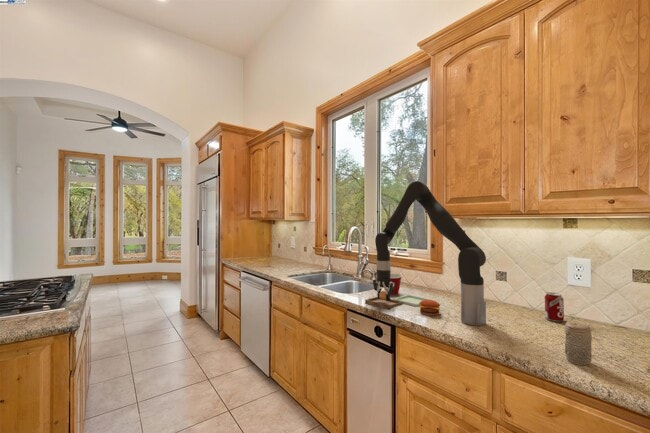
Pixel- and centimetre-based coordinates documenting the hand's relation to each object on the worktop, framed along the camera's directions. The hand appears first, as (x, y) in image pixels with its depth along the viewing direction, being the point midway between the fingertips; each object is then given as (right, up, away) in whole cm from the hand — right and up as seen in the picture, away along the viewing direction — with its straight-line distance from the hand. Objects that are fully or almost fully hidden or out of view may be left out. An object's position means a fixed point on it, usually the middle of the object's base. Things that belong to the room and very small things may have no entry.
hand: (383, 299), depth 159 cm
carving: (+48, -1, -66) cm, 82 cm away
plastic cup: (+10, -3, +22) cm, 24 cm away
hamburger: (+19, -2, -17) cm, 25 cm away
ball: (0, 0, 0) cm, 0 cm away
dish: (+17, -2, +4) cm, 17 cm away
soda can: (+72, -2, -27) cm, 77 cm away
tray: (0, -2, 0) cm, 2 cm away
